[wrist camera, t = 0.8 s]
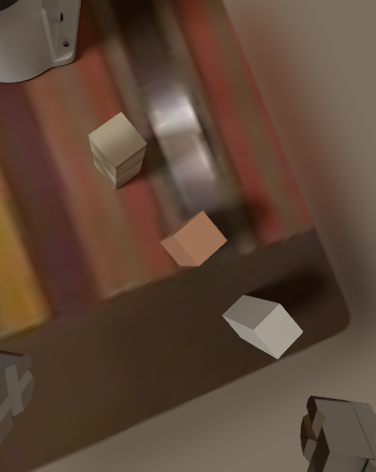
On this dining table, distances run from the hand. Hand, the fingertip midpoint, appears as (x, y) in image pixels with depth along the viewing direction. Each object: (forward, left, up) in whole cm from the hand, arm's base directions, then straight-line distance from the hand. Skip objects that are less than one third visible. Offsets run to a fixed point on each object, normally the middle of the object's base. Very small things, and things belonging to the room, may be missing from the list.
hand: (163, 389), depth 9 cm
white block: (-1, +17, -36) cm, 40 cm away
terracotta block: (-8, +6, -36) cm, 38 cm away
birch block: (-16, -6, -36) cm, 40 cm away
